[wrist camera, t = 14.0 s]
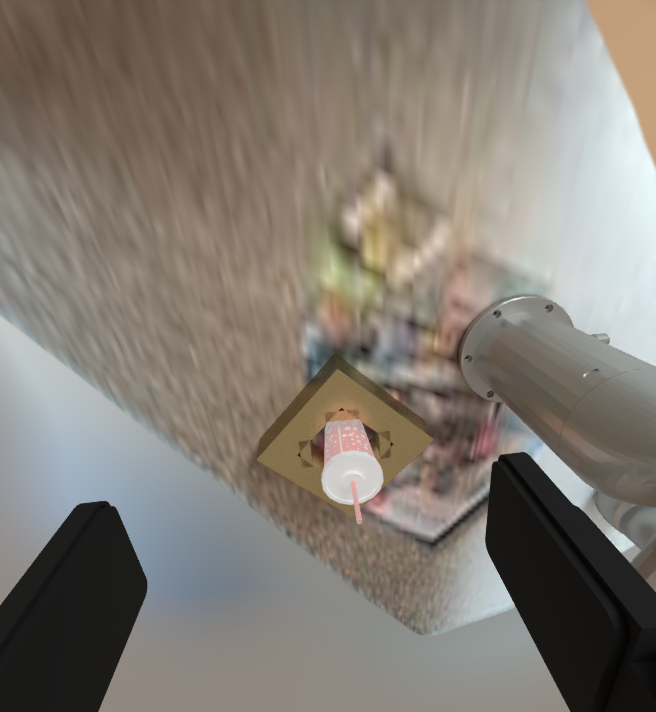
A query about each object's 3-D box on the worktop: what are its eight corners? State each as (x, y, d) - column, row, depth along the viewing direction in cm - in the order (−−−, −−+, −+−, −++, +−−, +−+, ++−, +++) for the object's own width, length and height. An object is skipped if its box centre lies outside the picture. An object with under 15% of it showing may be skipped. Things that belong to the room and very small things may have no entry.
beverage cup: (328, 455, 46) (337, 555, 33) (311, 416, 43) (313, 507, 30) (375, 440, 45) (403, 536, 32) (360, 399, 43) (383, 485, 30)
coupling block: (334, 353, 40) (337, 368, 37) (423, 419, 44) (434, 439, 41) (260, 438, 44) (256, 460, 40) (348, 492, 48) (352, 516, 44)
